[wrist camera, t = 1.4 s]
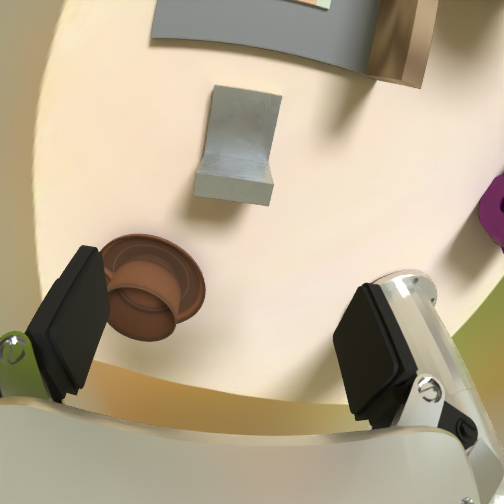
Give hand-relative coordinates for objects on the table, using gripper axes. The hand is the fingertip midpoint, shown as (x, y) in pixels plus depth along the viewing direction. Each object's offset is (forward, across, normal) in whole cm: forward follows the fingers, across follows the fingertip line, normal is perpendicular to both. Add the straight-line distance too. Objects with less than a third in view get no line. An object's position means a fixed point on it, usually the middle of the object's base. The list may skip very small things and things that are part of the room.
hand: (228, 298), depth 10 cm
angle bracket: (+16, 0, -2) cm, 16 cm away
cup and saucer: (+17, +7, +14) cm, 23 cm away
